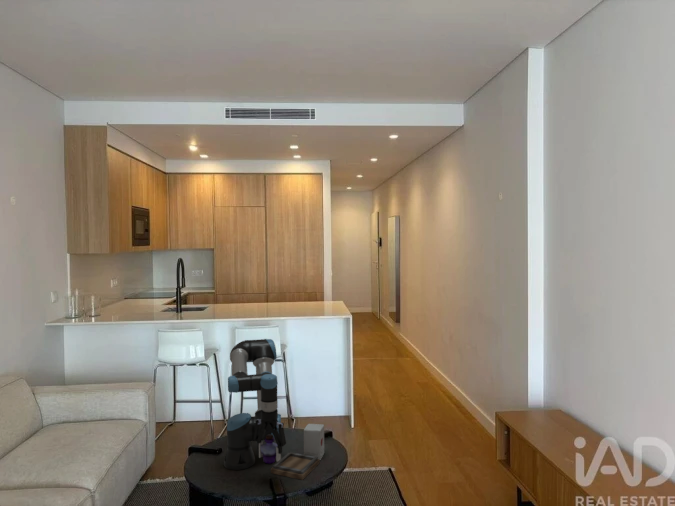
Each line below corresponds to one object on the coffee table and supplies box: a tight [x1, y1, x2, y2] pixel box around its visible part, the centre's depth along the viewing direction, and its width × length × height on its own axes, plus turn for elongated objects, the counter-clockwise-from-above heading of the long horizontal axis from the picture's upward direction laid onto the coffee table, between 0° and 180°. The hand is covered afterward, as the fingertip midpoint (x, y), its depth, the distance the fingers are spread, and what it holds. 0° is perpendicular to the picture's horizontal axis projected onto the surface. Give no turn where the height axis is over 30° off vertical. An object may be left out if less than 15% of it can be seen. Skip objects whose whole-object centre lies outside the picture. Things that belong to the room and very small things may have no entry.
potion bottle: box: [260, 434, 277, 465], centre depth 211 cm, size 9×9×12 cm
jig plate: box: [270, 451, 321, 481], centre depth 224 cm, size 17×18×3 cm
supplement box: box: [303, 423, 325, 461], centre depth 237 cm, size 9×9×15 cm
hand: (269, 458), depth 211 cm, fingers closed on potion bottle, 9 cm apart
